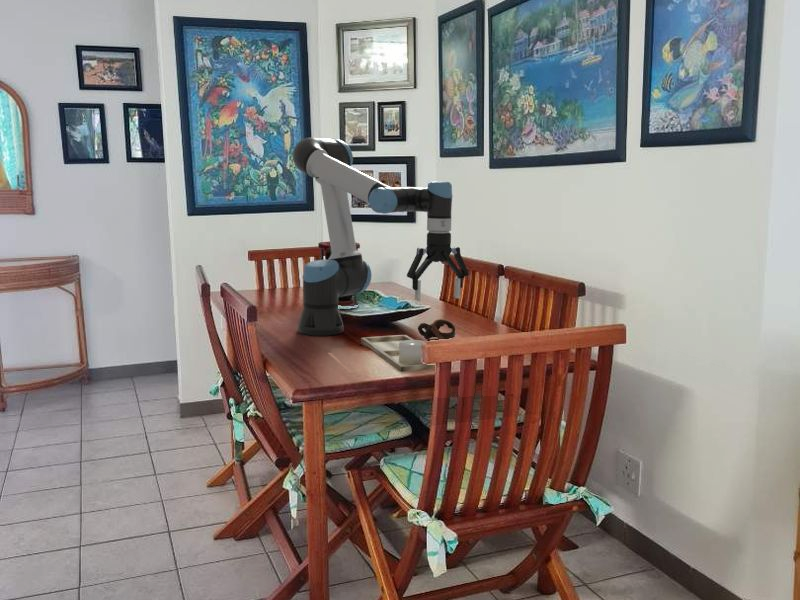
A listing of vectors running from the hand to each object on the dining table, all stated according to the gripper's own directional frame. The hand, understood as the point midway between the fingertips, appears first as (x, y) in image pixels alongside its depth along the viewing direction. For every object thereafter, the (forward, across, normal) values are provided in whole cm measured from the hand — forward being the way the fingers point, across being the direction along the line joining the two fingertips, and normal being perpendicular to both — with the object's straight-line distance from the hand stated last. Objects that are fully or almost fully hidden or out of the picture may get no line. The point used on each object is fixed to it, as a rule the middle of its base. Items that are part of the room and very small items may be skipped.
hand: (437, 299), depth 231 cm
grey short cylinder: (+13, -16, -21) cm, 30 cm away
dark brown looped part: (+14, 0, +1) cm, 14 cm away
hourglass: (+14, -13, +65) cm, 68 cm away
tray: (+14, -16, -13) cm, 25 cm away
